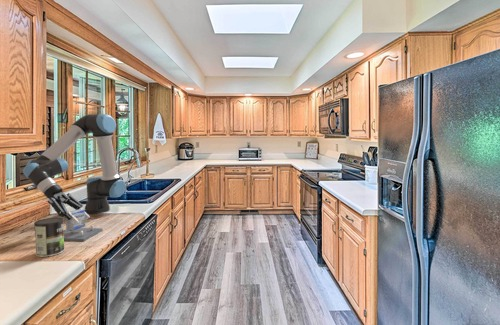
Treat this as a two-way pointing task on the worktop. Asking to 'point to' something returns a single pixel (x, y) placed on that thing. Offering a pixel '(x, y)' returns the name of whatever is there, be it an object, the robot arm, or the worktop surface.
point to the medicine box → (79, 216)
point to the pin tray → (81, 234)
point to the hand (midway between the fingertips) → (82, 220)
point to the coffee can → (49, 237)
